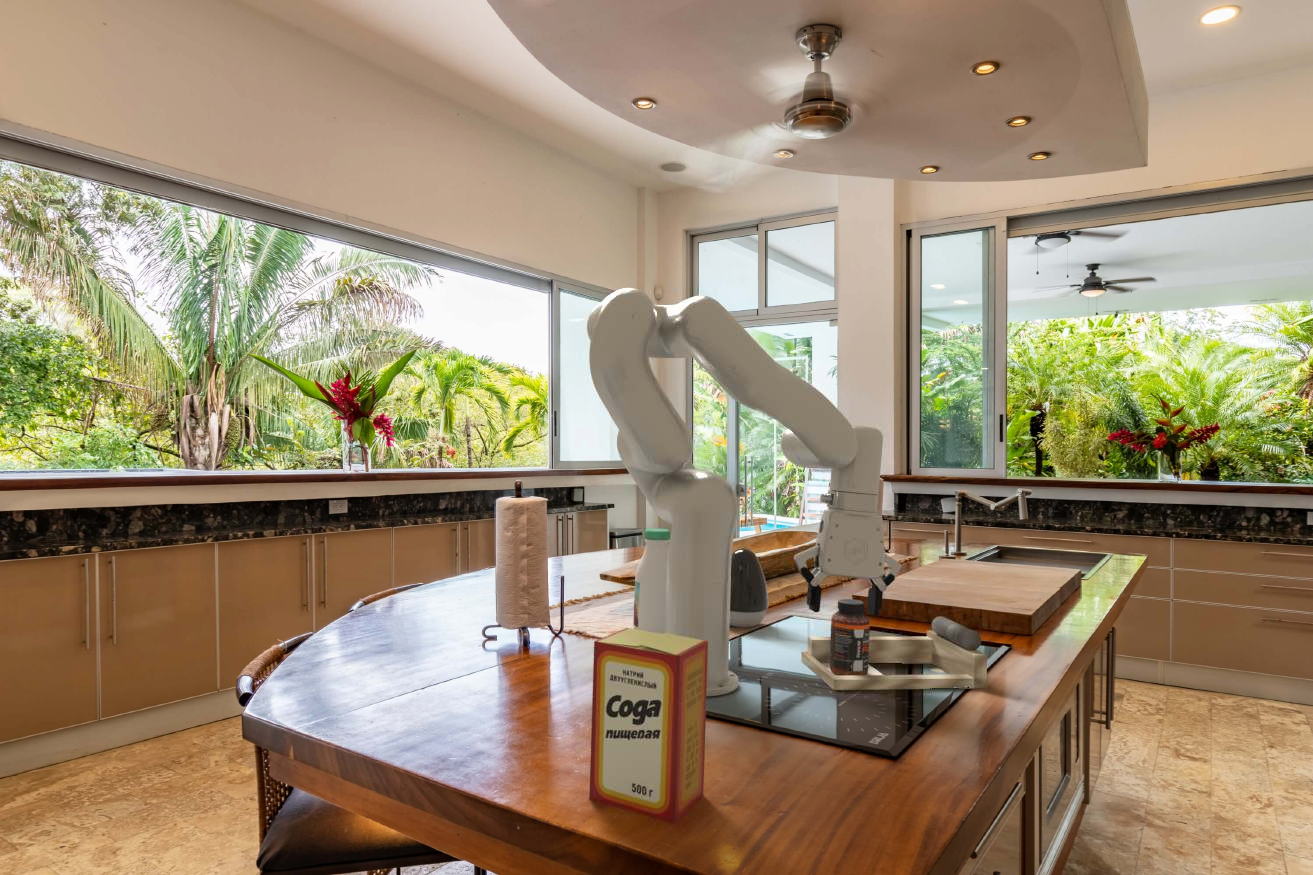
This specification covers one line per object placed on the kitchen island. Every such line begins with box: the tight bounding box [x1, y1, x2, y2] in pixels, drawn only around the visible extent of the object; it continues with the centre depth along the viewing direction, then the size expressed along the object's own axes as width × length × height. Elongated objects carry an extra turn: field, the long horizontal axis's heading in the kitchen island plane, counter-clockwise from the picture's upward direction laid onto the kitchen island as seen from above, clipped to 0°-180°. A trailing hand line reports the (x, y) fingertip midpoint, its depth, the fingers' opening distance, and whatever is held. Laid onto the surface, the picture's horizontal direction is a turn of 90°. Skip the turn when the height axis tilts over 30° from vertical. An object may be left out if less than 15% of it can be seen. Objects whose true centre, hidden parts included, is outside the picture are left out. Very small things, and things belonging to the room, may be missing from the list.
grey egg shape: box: [729, 547, 769, 629], centre depth 152 cm, size 10×10×15 cm
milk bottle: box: [632, 528, 671, 634], centre depth 137 cm, size 8×8×20 cm
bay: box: [800, 616, 988, 691], centre depth 121 cm, size 24×15×8 cm, turn 97°
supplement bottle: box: [829, 598, 871, 676], centre depth 120 cm, size 6×6×11 cm
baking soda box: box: [588, 627, 708, 824], centre depth 76 cm, size 10×6×16 cm
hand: (843, 612), depth 120 cm, fingers open, 9 cm apart
